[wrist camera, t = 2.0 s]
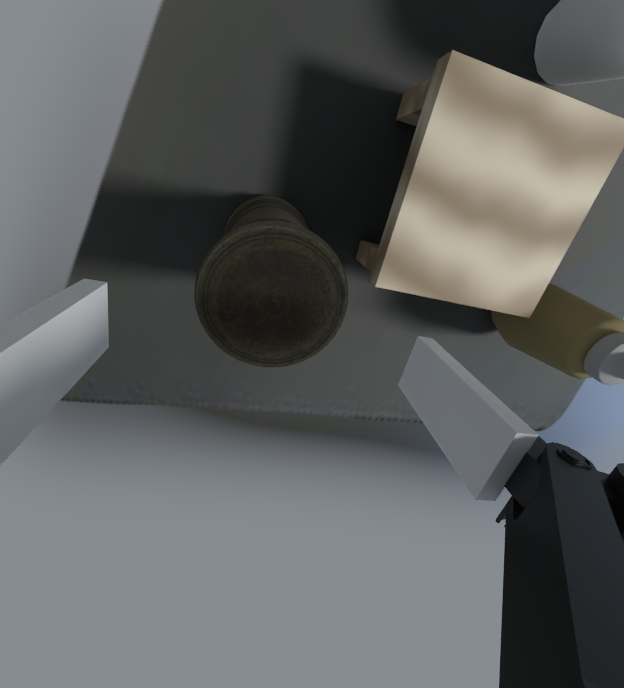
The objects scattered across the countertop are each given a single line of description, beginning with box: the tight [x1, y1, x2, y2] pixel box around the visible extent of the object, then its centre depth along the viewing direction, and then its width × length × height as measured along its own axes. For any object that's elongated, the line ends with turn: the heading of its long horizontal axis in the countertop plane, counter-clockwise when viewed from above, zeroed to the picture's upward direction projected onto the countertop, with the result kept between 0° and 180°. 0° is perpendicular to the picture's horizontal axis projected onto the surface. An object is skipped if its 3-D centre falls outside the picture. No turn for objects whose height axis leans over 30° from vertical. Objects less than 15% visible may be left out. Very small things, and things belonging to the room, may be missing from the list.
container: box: [195, 195, 348, 367], centre depth 26 cm, size 9×9×18 cm
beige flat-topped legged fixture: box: [356, 50, 624, 318], centre depth 30 cm, size 16×16×9 cm
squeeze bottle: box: [491, 283, 624, 385], centre depth 33 cm, size 8×8×18 cm
